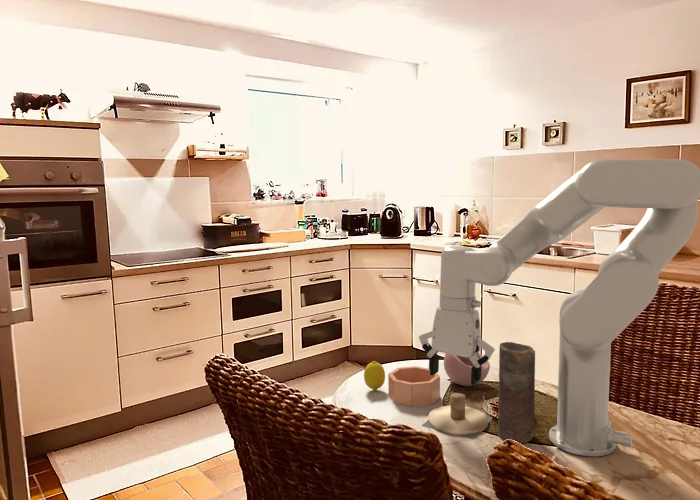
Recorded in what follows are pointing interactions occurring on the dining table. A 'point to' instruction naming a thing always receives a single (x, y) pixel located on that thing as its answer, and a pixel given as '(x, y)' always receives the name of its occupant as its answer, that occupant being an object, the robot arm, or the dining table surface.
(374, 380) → the lemon
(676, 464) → the dining table surface
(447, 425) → the lid
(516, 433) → the stone cylinder
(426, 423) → the mat
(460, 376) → the mortar and pestle
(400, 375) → the bowl
